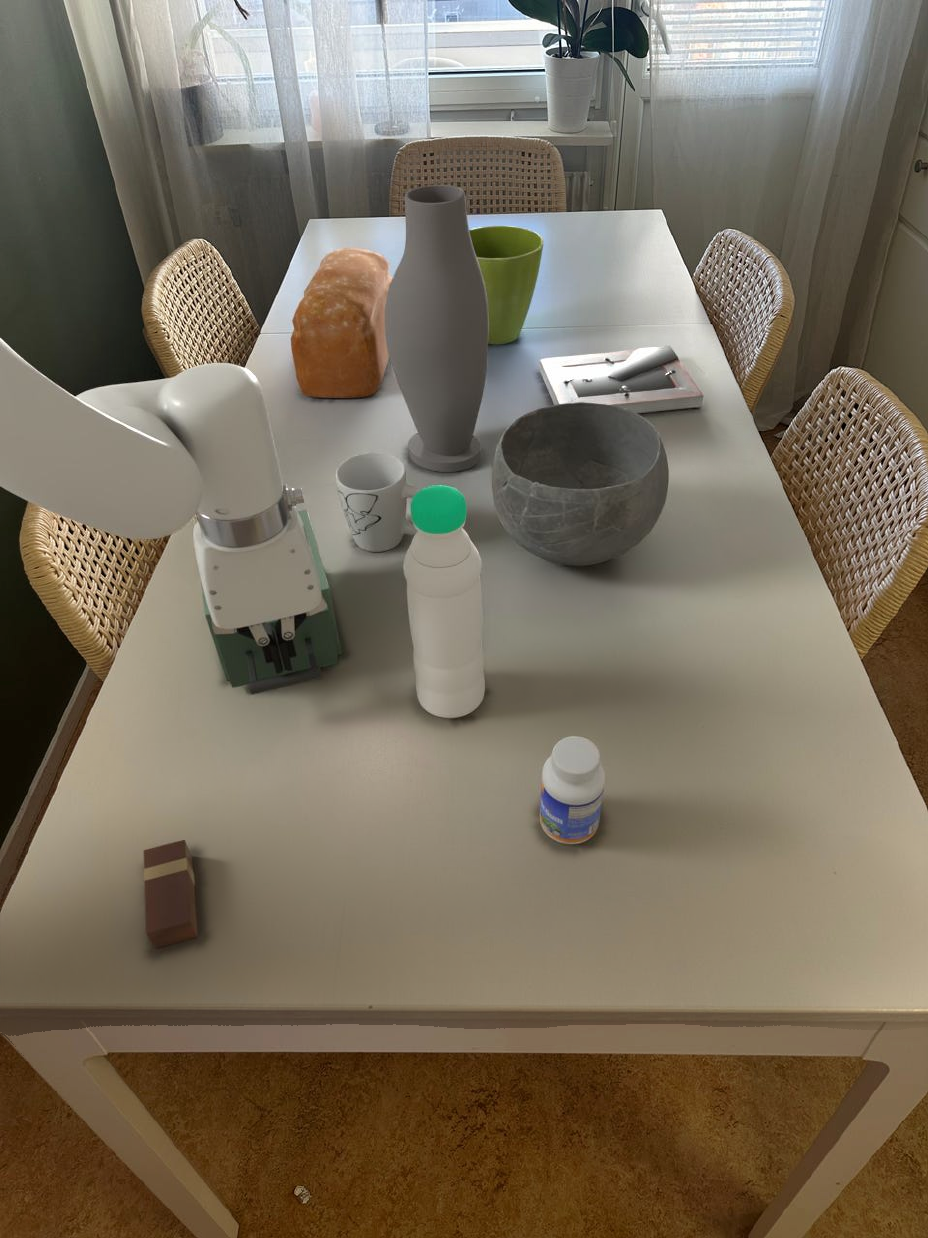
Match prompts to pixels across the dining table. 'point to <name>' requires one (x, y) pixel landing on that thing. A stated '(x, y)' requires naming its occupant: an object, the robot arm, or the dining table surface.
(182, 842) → the brown banded block
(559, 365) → the picture frame
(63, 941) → the dining table surface
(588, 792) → the pill bottle
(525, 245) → the flower pot
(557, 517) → the bowl
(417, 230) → the vase
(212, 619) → the robot arm
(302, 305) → the bread
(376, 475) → the mug
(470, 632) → the water bottle
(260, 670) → the drawer
